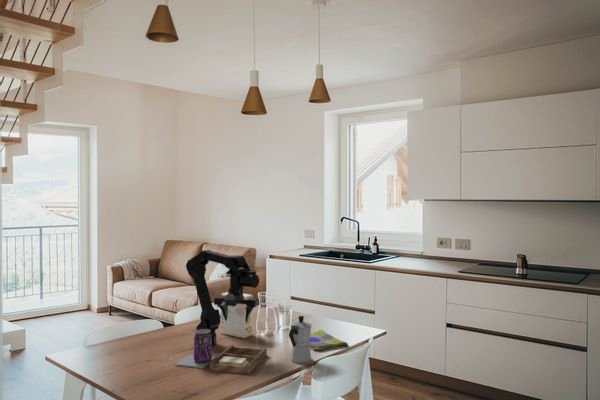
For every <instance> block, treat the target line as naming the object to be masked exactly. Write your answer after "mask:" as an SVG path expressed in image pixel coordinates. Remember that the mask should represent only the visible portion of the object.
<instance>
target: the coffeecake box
mask: <svg viewBox="0 0 600 400" xmlns="http://www.w3.org/2000/svg"><path fill="white" fill-rule="evenodd" d="M228 292H229V291H226V292H222V293H220V296H226V295H227V294H228ZM243 296H244V299H243V300H247V299H249V298H254V294H249V293H243ZM246 307H247V306H246V304H237V305H236V306H228V318H227V321H225V318H224V315H223V312H222V310H221V309H220V316H221V318H220V320H221V322H220V334H223V335H227V336H231V337H237V338H242V339H246V338H248V337H252V336H253V335H254V333H253V332H254V328H253V327H254V308H253V309H252V311H251V313H250V316H249V319H248V321H247V322H246V320H245V318H246Z"/></svg>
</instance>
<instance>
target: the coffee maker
mask: <svg viewBox="0 0 600 400" xmlns="http://www.w3.org/2000/svg"><path fill="white" fill-rule="evenodd" d="M304 318H305V317H304V316H303V315H298V322H293V323H291V324H290V330H289V334H288V337H289V340H290V342H291V344H292V346H291V347H292V348H291V354H290V361H291V363H293V364H294V363H295V364H308V363H310V362H312V356H311V349H310V347H309V343H308V342H309V340H310V333H312V332H311V331H312V330H311V329H312V324H311V323H309V322H307V321H306V322H305V321H304Z"/></svg>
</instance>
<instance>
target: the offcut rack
mask: <svg viewBox="0 0 600 400" xmlns="http://www.w3.org/2000/svg"><path fill="white" fill-rule="evenodd" d="M267 352H268V351H267V347H263V348H258V347H256V348H255V347H247V346H246V347H245V346H234V344H230V345H229V346H228V347H226V348H225V349H224V350H223V351H221V353H219V354H218V355H216V356H215V357H216V358H214V359H213V360H212V361H211V362H210V363H209V371H215V372H224V373H233V374H243V375H250V373H252V372H253V370H255V369H256V367H257V366H258V365H259V364H260V363H261V362H262V361H263V360H264V359H265V357H266V356H267ZM224 356H227V357H239V358H246V361H249V363H248V364H247V365H246V366H238V365H228V364H219V360H221V359H222V358H223V357H224Z"/></svg>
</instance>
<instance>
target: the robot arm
mask: <svg viewBox="0 0 600 400" xmlns="http://www.w3.org/2000/svg"><path fill="white" fill-rule="evenodd" d="M209 262H213V263H216V264H221V265H223V266H225V268H226V269H227V271H226V272H225V274H226V275H229V288H228V291H227V292H228V294H227V295H226V296H221V295H217V296H216V297H215V298H214V299H213V303H212V300H211V295H210V292H209V288H208V285H207V281H206V277H205V276H206V272H207V268H206V267H207V265H208V264H209ZM185 268H186V271H187V273H188V275H189V276H190V277H191V278H192V279H193V282H194V285H195V289H196V293H197V297H198V300H199V305H200V308H201V312H200V316H199V317H200V319H199V320H200V322H199V323H198V324H197V326H195V327H196V330H199V329H209V330H211V334H212V347H213V346H214V345H215V344H217V343H218V341H217V333H216V330H218V329H219V327H220V325H221V313H220V311H221V310H222V312H223V315H224V318H225V321H227V318H228V306H236V305H237V304H246V306H247V307H246V318H245V320H246V322H247V321H248V319H249V316H250V313H251V311H252V309H253V310H254V309H255V308H256V307H257V306H260V300H259V298H257V297H253V298H249V299H247V300H243V299H244V296H243V294H244V289H245V287H246V288H250V289H251V288H252V289H256V288H257V287H258V286H259V284H260V278H259V275H258V274H257V271H255V270H253V271H252V270H251V268H250V266H249V265H248V263H247V261H246V259H245V256H244V255H241V254H240V255H237V254H236V255H228V254H224V253H220V252H218V251H217V252H215V251H213V250H210V249H205V250H201V251H200V252H199V253H197V254H196V255H195V256H193V257H192V258H191V259H188V260H187V262H186V264H185ZM213 305H215V306H216V307H218V308H219V309H220V310H219V309H218V308H216V309H215V308H214V306H213Z"/></svg>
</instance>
